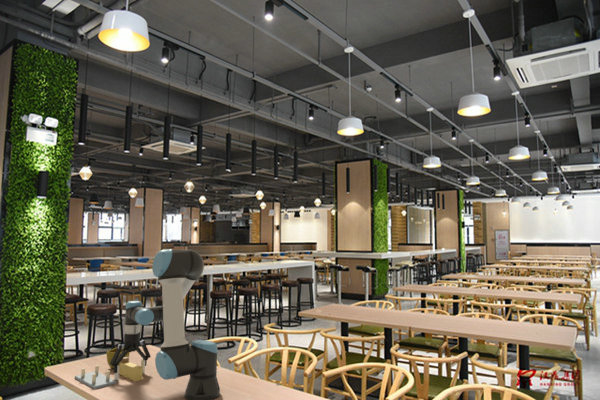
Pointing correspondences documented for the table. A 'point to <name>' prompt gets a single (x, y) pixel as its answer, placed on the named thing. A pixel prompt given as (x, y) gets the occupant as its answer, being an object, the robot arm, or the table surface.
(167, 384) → the table surface
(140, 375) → the pale yellow block
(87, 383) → the peg board
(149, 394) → the table surface
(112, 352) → the flower pot
